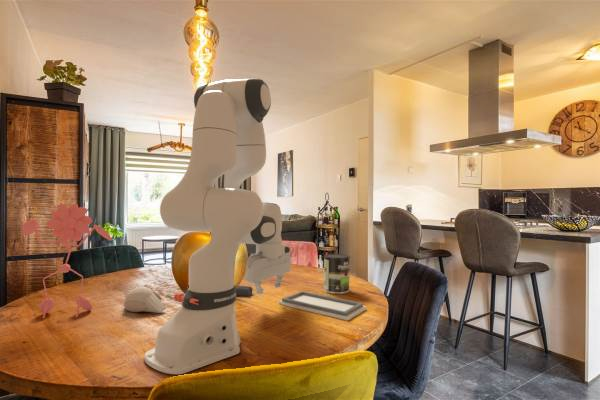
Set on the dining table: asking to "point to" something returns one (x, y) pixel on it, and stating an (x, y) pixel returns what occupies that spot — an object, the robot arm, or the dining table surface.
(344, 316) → the baseplate tray
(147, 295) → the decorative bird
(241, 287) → the can opener
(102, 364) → the dining table surface
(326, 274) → the coffee can
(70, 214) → the figurine
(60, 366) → the dining table surface
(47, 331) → the dining table surface
